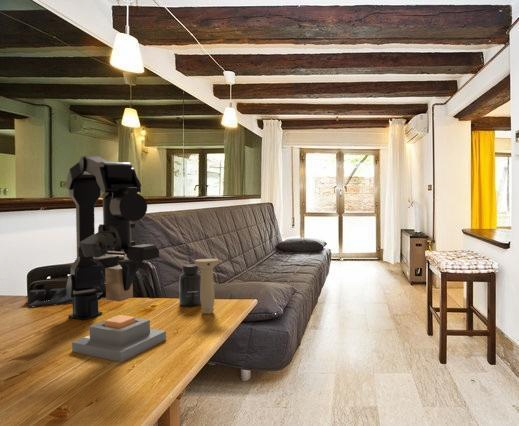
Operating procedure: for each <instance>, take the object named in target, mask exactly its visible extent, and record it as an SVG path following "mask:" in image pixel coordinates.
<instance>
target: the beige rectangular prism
mask: <svg viewBox="0 0 519 426" xmlns="http://www.w3.org/2000/svg"><path fill="white" fill-rule="evenodd" d="M104 277H105V278H104V280H105V299H106V300H107V301H113V302H122V301H126V300H128V299H132V298H134V284H133V282H134V281H133V282H132V284H131V286H130V289H129V290H127V291H125V290H124V286H123V274H122V267H121V266H120V264H118V265H117V266H112V267H108V268H105V276H104Z"/></svg>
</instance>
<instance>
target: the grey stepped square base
mask: <svg viewBox="0 0 519 426" xmlns="http://www.w3.org/2000/svg"><path fill="white" fill-rule="evenodd" d="M150 321H151V320H150V319H145V318H141V317H135V323H134V324H131V325H129V326H126V327H124V328H122V329H117V328H112V327H106V326H105V322H104V320H103V321H101V322H98V323H96V324H92V325H90V326H89V327H88V330H89V335H87V336H84V337H82V338H80V339H77V340H75V341H72V342H71V351H72V352H74V353H78V354H83V355H86V356H91V357H96V358H100V359H105V360H110V361H115V362H119V363H123V362H124V361H126V360H128V359H131V358H133V357H135V356H136V355H138V354H141V353H143V352H145V351H146V350H149V349H150V348H153V347H154V346H156V345H159V344H160V343H162V342H164V341H166V340H167V331H166V330H161V329H155V328H151V322H150Z"/></svg>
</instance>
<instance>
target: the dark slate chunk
mask: <svg viewBox="0 0 519 426" xmlns="http://www.w3.org/2000/svg"><path fill="white" fill-rule="evenodd" d="M73 291H74V290H73ZM27 293H28V295H27V297H28V298H27V307H28V308H33V307H32V306H38V307H44V306H43V305H50V306H54V305H53V304H57V305H63V304H62V303H64V304H71V303H70V302H73V301H72V298H70V297H69V296H68V295H67V292H66V287H61V288H52V289H49V290H48V289H47V290H46V289H33V290H28V292H27ZM103 293H104V291H103V292H102V293H97V299H99V298H100V297H101V296H102V294H103ZM46 300H47V301H46ZM48 300H49V301H48ZM44 301H45V302H44ZM28 304H29V306H28Z"/></svg>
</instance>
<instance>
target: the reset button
mask: <svg viewBox="0 0 519 426" xmlns="http://www.w3.org/2000/svg"><path fill="white" fill-rule="evenodd" d="M135 318H136V316H131V315H124V314H119V315H115V316H112V317H110V318H108V319H105V320H103V321H104V322H105V326H106V327H112V328H117V329H122V328H124V327H126V326H129V325H131V324H134V323H135Z"/></svg>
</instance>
